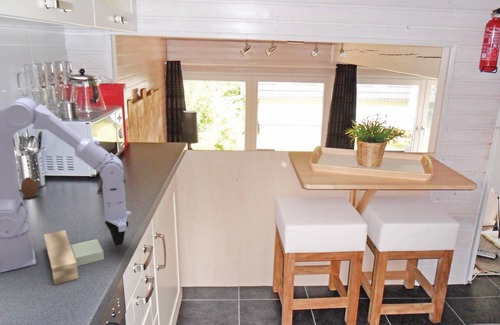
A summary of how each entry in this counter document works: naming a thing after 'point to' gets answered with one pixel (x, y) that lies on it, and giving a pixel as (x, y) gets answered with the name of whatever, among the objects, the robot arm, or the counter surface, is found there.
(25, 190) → the coconut
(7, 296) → the counter surface
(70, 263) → the overhang shelf
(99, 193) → the phone
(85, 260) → the pale green slab
